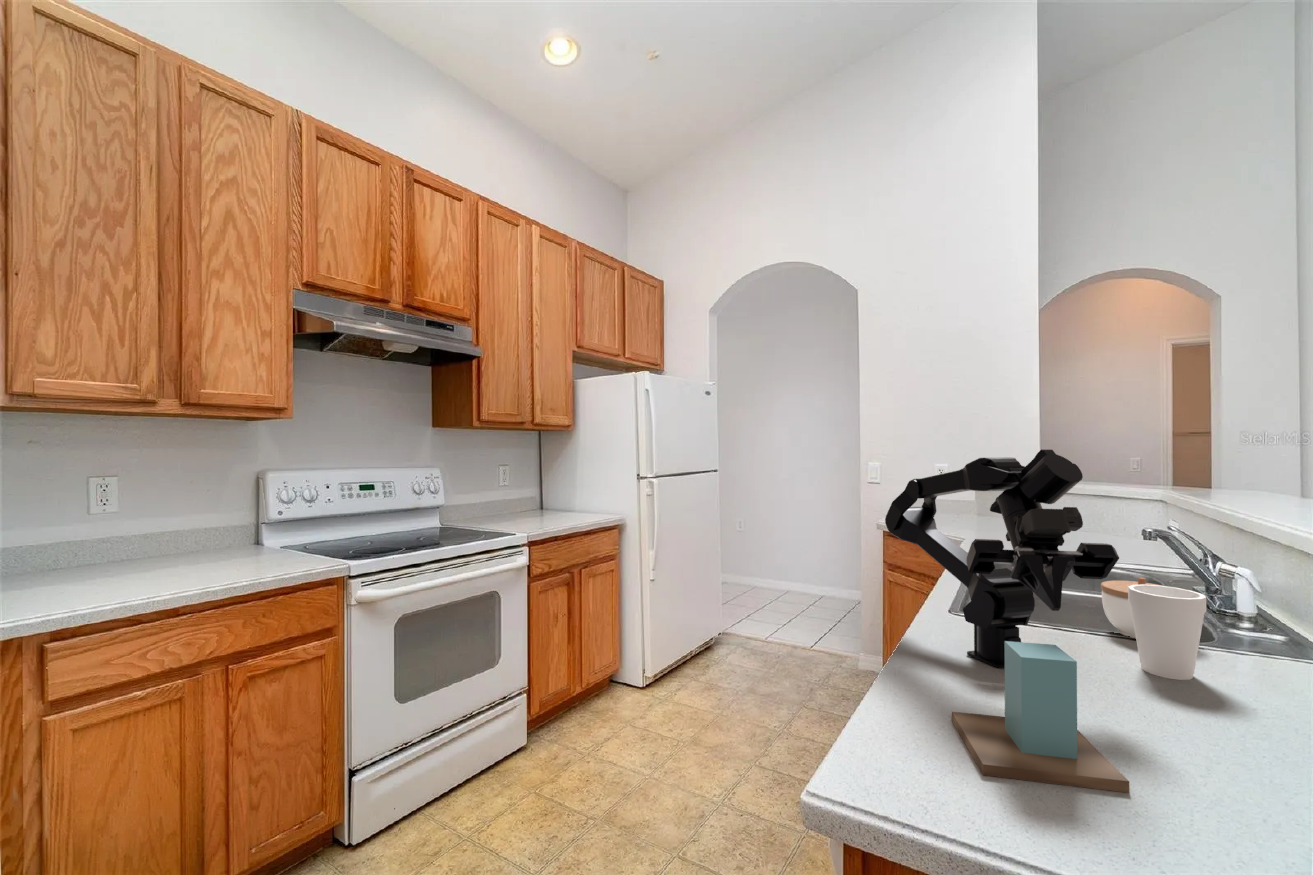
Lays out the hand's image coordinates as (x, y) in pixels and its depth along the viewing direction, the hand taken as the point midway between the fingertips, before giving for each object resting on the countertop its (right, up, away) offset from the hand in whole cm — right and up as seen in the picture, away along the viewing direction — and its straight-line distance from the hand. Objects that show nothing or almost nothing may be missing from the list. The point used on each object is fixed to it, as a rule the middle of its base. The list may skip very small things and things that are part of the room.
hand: (1056, 609), depth 81 cm
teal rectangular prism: (-11, -12, -13) cm, 21 cm away
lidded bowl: (+38, -14, +30) cm, 50 cm away
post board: (-11, -13, -13) cm, 21 cm away
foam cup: (+26, -14, +12) cm, 32 cm away
